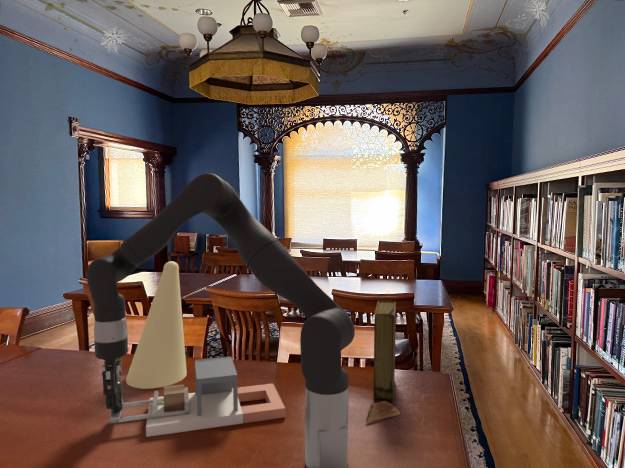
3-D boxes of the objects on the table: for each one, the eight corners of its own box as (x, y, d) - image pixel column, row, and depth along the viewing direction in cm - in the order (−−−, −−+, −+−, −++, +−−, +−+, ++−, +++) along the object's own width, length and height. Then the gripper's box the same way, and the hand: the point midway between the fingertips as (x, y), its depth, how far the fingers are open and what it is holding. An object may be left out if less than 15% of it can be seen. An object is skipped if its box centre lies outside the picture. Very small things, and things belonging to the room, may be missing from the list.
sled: (188, 413, 114) (188, 381, 113) (108, 423, 109) (107, 390, 108) (188, 397, 122) (187, 368, 122) (113, 407, 117) (112, 376, 116)
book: (376, 378, 143) (378, 300, 141) (394, 379, 142) (395, 301, 140) (373, 401, 127) (374, 313, 125) (393, 403, 126) (394, 314, 124)
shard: (365, 426, 114) (365, 419, 114) (350, 413, 121) (350, 406, 121) (400, 417, 119) (400, 410, 119) (383, 405, 126) (383, 398, 126)
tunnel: (237, 410, 116) (237, 374, 115) (197, 416, 113) (196, 379, 112) (231, 388, 129) (231, 356, 128) (195, 393, 126) (194, 360, 125)
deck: (285, 417, 118) (285, 408, 117) (146, 436, 108) (145, 426, 108) (273, 391, 133) (272, 383, 133) (150, 406, 123) (149, 397, 123)
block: (184, 411, 116) (184, 392, 115) (164, 413, 114) (163, 394, 114) (184, 402, 120) (184, 384, 120) (164, 405, 119) (164, 386, 118)
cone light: (171, 390, 134) (168, 273, 131) (113, 386, 136) (109, 271, 133) (202, 360, 158) (200, 260, 155) (152, 357, 160) (149, 259, 157)
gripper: (124, 344, 106) (126, 413, 107) (130, 326, 119) (132, 388, 121) (88, 347, 103) (91, 417, 105) (99, 329, 117) (101, 391, 119)
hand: (113, 401), depth 113 cm, fingers open, 6 cm apart
